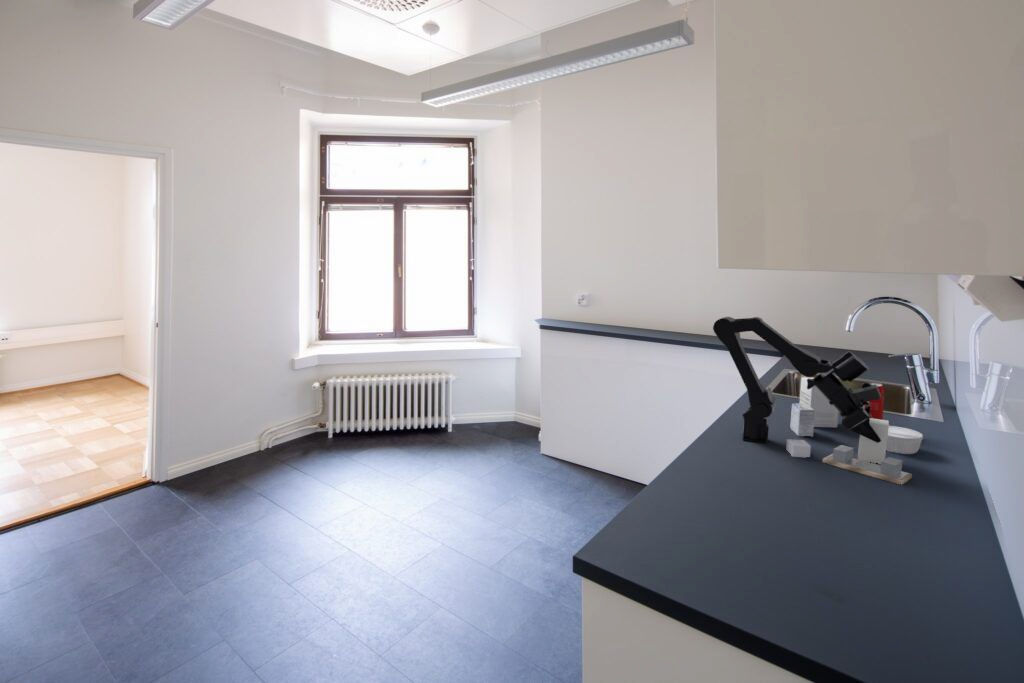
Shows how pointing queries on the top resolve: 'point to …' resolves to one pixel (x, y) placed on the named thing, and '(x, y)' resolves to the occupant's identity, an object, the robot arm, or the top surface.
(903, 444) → the ramekin
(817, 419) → the supplement box
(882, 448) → the block
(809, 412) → the medicine box
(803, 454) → the block
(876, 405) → the beverage can
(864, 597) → the top surface
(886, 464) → the block
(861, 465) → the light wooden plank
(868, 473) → the board
